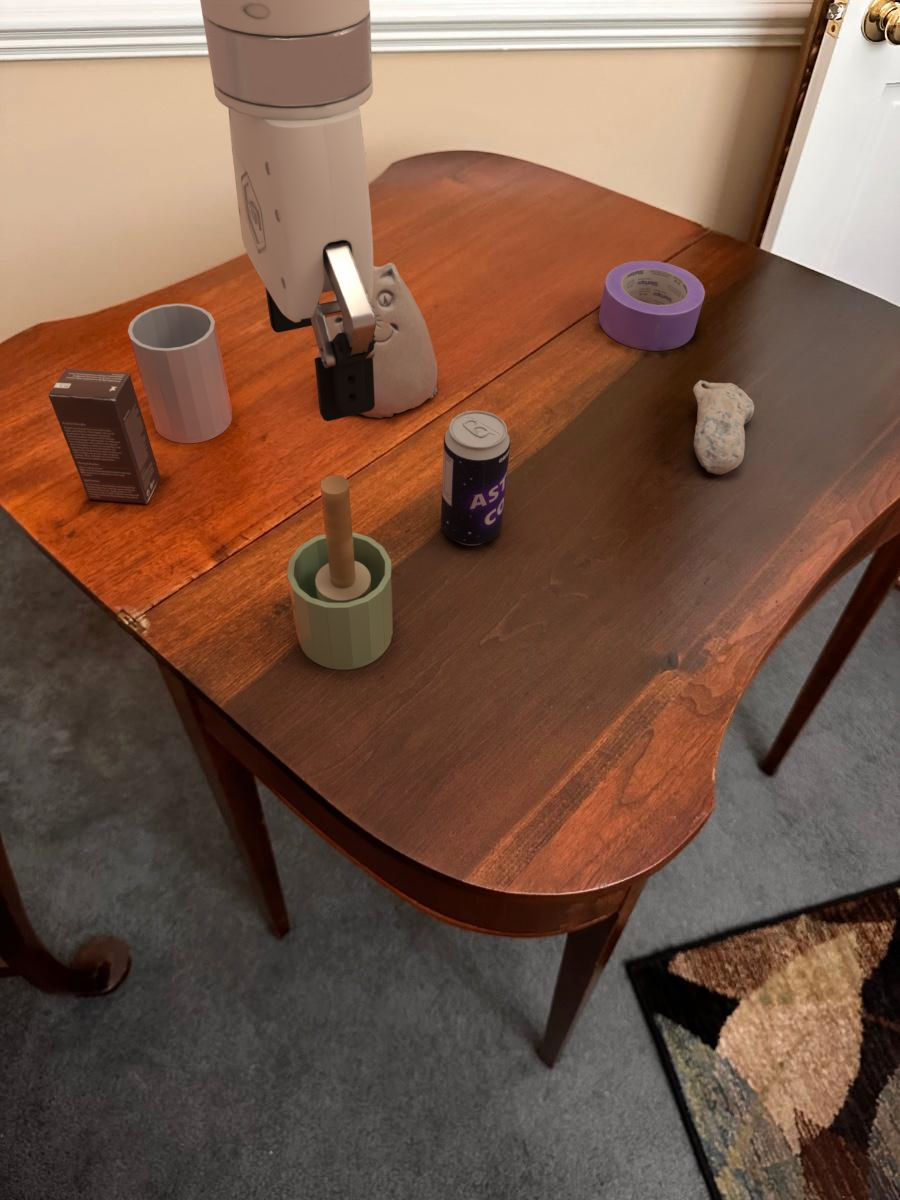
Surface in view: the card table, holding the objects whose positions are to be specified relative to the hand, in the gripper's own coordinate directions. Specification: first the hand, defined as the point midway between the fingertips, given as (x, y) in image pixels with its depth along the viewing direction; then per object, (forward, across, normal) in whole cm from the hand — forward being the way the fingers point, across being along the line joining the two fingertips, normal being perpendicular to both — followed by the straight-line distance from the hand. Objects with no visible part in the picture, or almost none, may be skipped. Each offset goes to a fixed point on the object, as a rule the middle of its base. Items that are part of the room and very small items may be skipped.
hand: (320, 367), depth 54 cm
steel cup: (+26, -33, -5) cm, 42 cm away
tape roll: (+26, -31, +50) cm, 65 cm away
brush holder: (+26, 0, 0) cm, 26 cm away
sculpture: (+26, -31, +15) cm, 43 cm away
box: (+26, -25, -14) cm, 39 cm away
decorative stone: (+26, -9, +45) cm, 53 cm away
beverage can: (+26, -7, +15) cm, 31 cm away
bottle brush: (+26, 0, 0) cm, 26 cm away
